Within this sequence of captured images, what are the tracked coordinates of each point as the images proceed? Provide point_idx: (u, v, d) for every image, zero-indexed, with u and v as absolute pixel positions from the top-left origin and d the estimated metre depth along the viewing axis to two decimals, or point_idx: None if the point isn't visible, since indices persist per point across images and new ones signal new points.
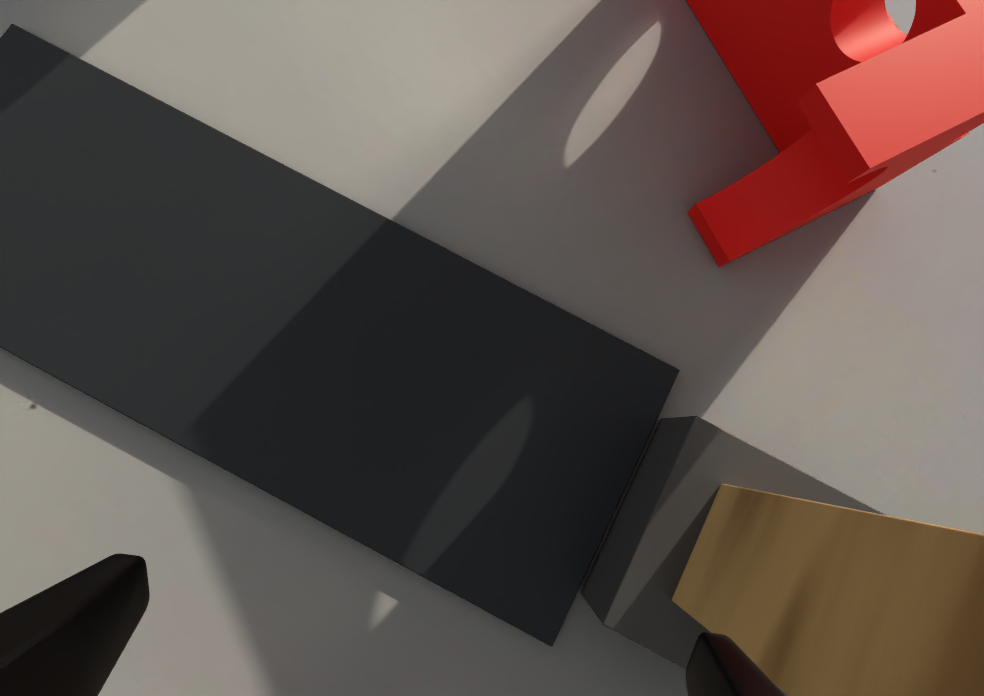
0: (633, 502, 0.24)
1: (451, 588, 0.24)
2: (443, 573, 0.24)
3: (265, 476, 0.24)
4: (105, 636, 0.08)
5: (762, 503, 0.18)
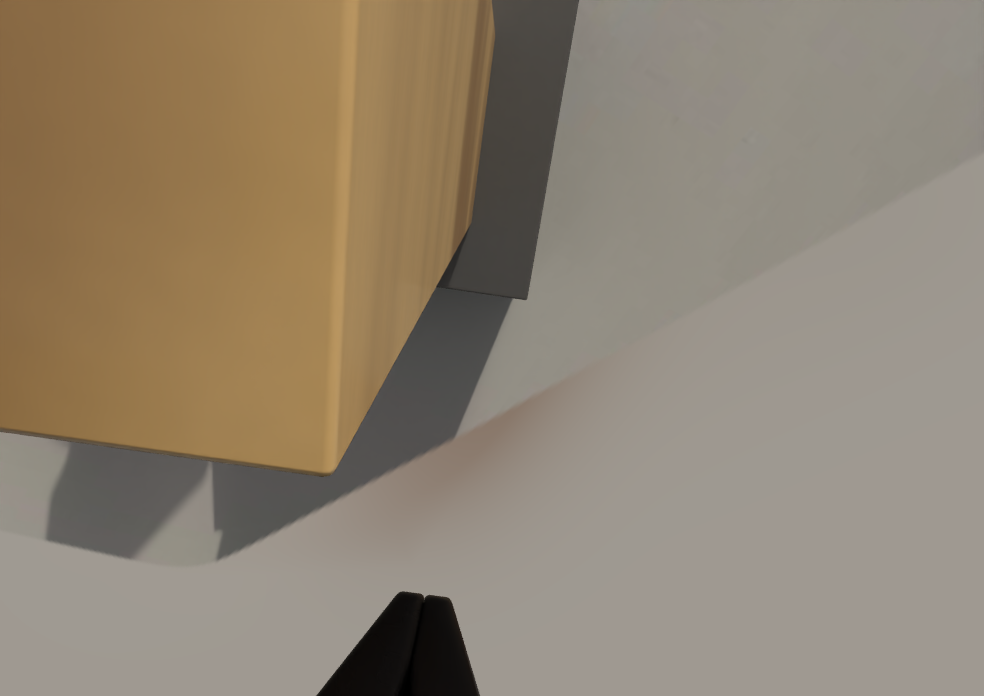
0: None
1: None
2: None
3: None
4: None
5: None
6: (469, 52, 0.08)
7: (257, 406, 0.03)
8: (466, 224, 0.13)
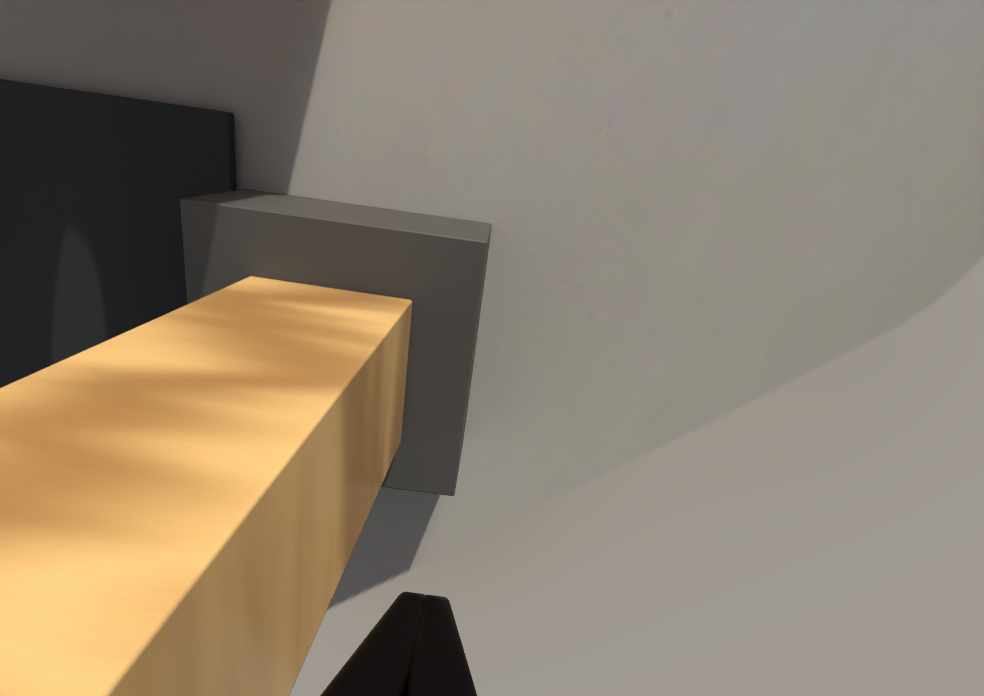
0: None
1: None
2: None
3: None
4: None
5: None
6: (331, 477, 0.10)
7: None
8: (384, 473, 0.16)
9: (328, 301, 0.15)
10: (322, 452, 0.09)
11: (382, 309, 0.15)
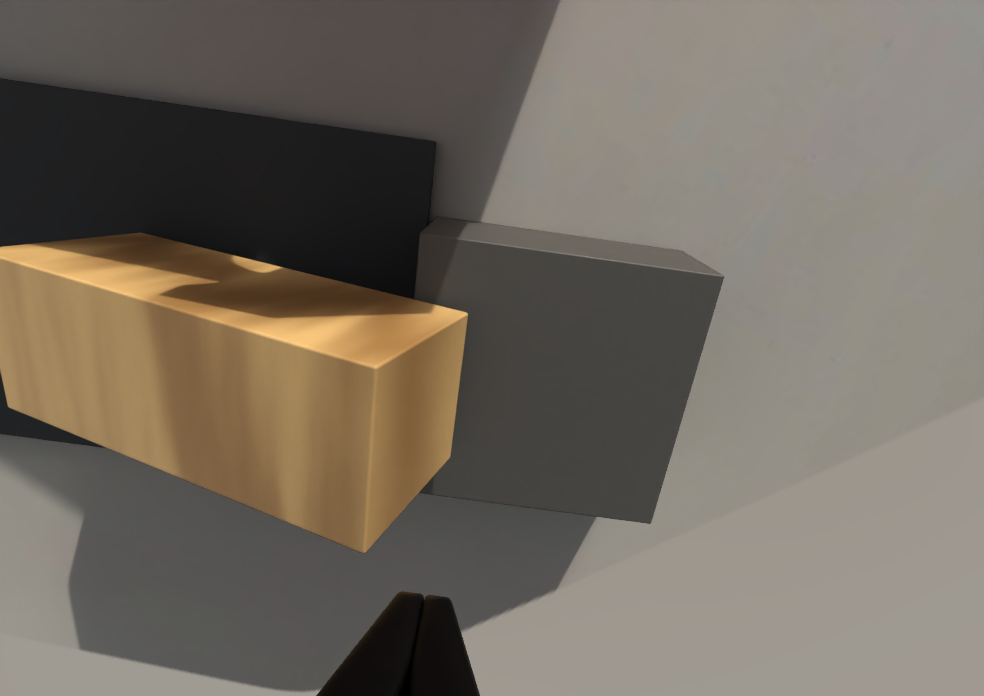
0: None
1: None
2: None
3: (52, 429, 0.22)
4: None
5: None
6: (137, 355, 0.14)
7: None
8: (287, 514, 0.13)
9: (373, 326, 0.13)
10: (121, 320, 0.13)
11: (336, 343, 0.12)
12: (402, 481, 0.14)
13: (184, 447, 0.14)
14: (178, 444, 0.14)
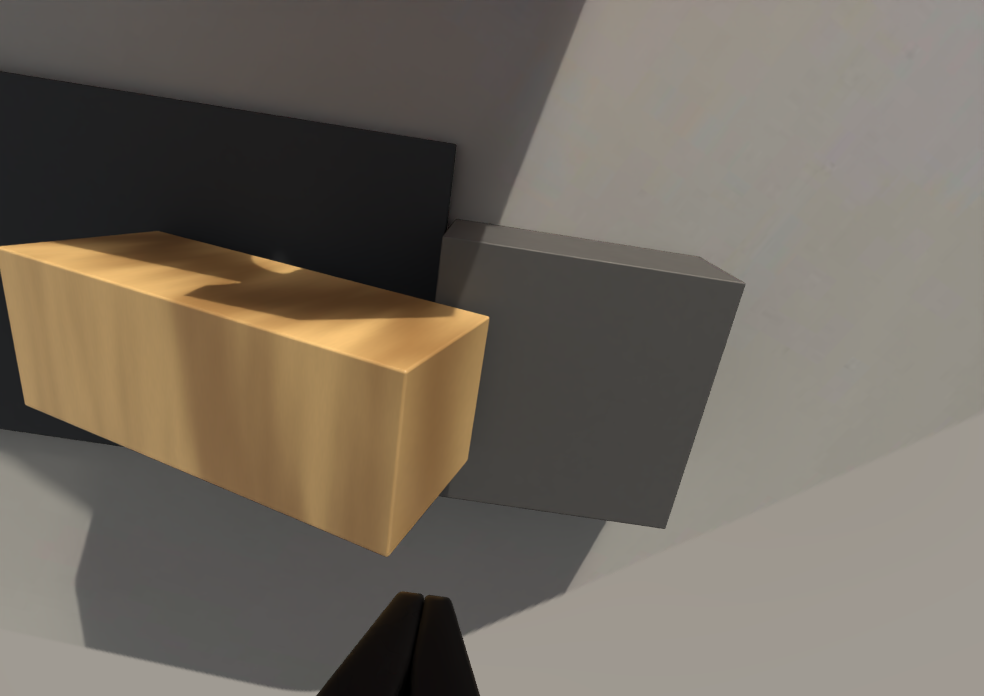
0: None
1: None
2: None
3: (63, 426, 0.22)
4: None
5: None
6: (160, 355, 0.14)
7: None
8: (310, 516, 0.13)
9: (398, 329, 0.13)
10: (144, 319, 0.13)
11: (364, 346, 0.12)
12: (424, 484, 0.14)
13: (205, 448, 0.14)
14: (199, 445, 0.14)
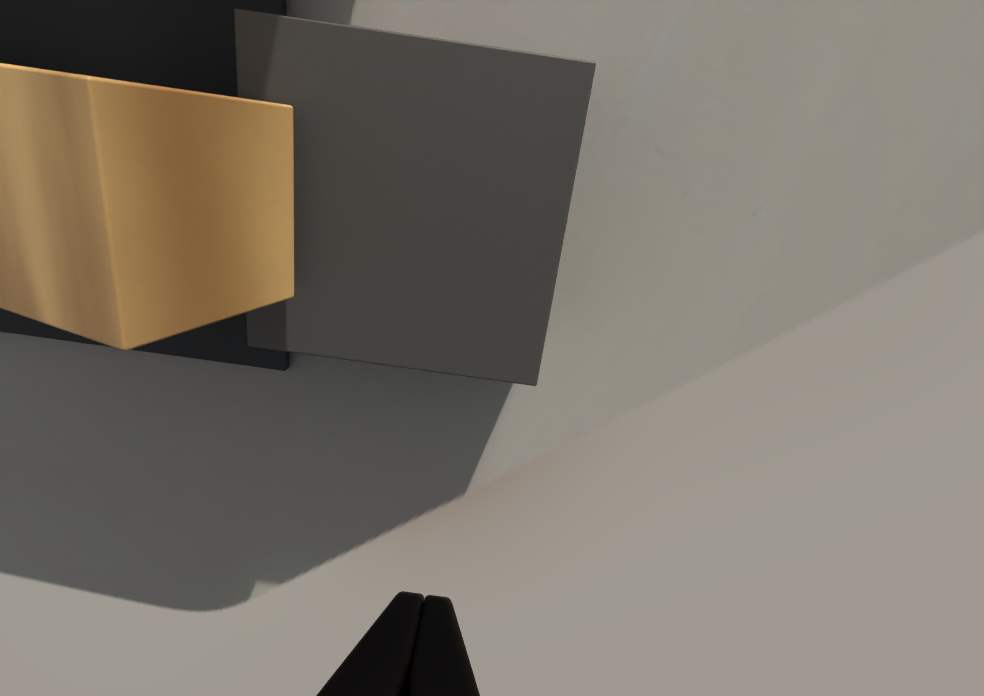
0: None
1: (153, 349, 0.20)
2: None
3: None
4: None
5: None
6: None
7: None
8: (44, 312, 0.11)
9: None
10: None
11: None
12: (192, 282, 0.12)
13: None
14: None
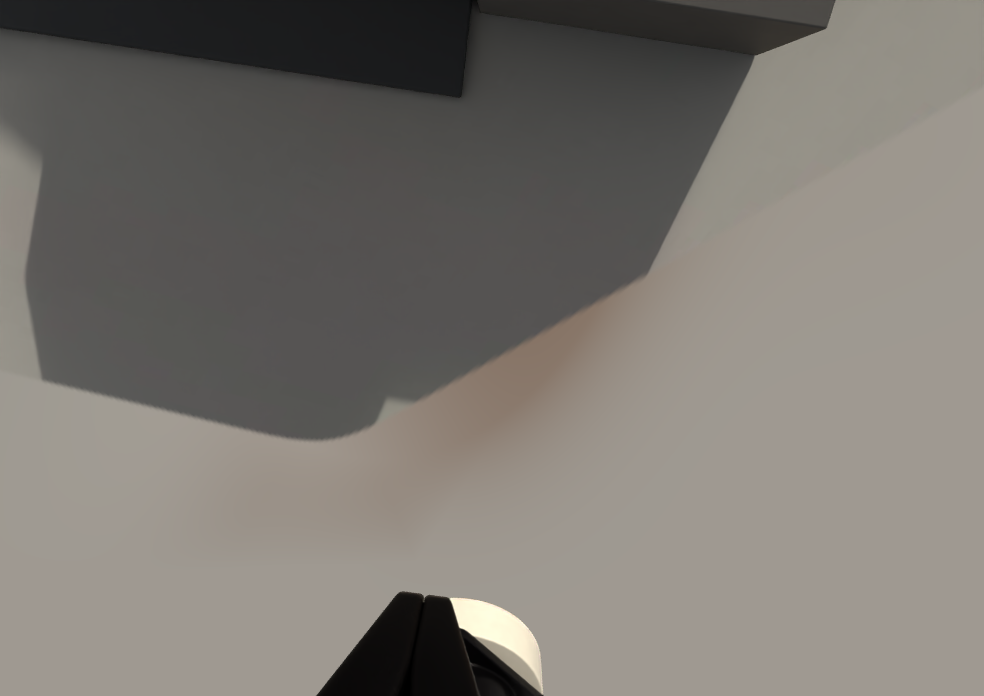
0: None
1: (304, 68, 0.17)
2: (284, 51, 0.17)
3: None
4: None
5: None
6: None
7: None
8: None
9: None
10: None
11: None
12: None
13: None
14: None
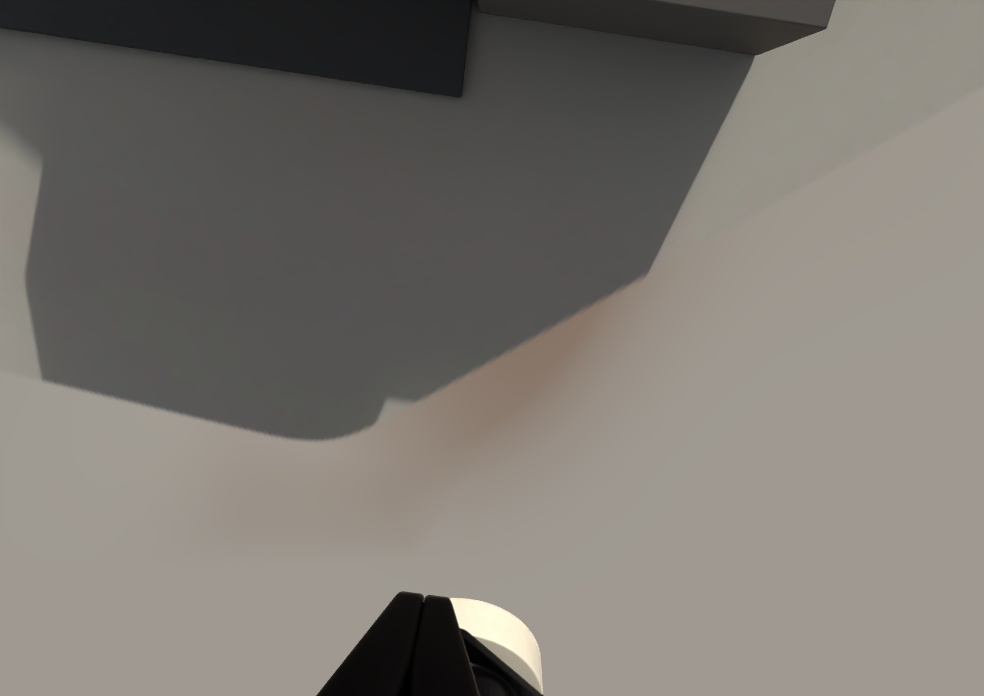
0: None
1: (304, 68, 0.17)
2: (285, 51, 0.17)
3: None
4: None
5: None
6: None
7: None
8: None
9: None
10: None
11: None
12: None
13: None
14: None
